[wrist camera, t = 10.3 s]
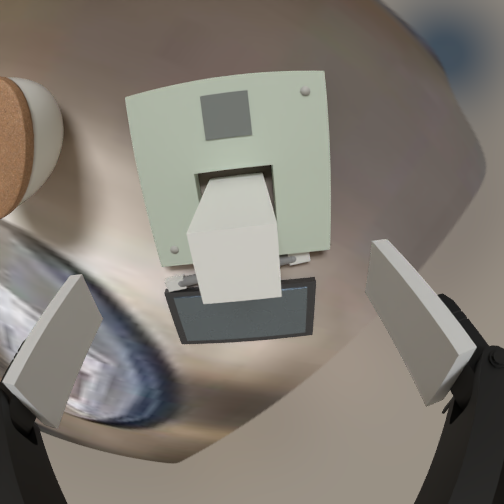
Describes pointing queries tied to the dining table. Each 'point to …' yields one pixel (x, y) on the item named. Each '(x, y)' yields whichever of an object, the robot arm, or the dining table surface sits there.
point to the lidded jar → (26, 139)
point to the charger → (235, 241)
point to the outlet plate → (235, 152)
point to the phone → (244, 315)
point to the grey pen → (184, 281)
